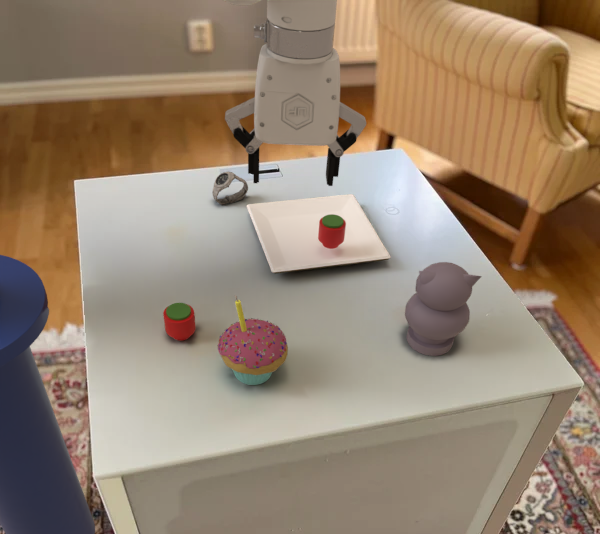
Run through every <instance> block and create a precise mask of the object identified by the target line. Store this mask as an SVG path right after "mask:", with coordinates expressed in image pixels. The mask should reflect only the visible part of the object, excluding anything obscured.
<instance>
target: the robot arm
mask: <svg viewBox="0 0 600 534" xmlns="http://www.w3.org/2000/svg"><path fill="white" fill-rule="evenodd" d="M261 1H262V0H222V2H225V3H228V4H229V5H233V6H238V7H249V6H253V5H255V4H258V3H259V2H261ZM337 5H338V0H266V19H264V20H263V21H264V22H260V23H254V24H253V38H257V39H260V40H263V43H264V44H263V45H262V46H261V48H260V51H259V55H258V60H257V64H256V65H257V67H256V74H255V75H256V76H255V85H254V86H255V87H254V88H255V89H254V97H252V98H250V99H248V100H245V101H244V102H242V103H240V104H238V105H237V104H236V106H233V107H231V108H229V109H227V110H226V111H225V112H224V121H225V123H226V124H227V126H228V128H229V130H230V131H231V133H232V134H233V138H234V139H235V140H236V141H237V142H238V143H239V144H240V145H241V146H242V147H243V148H244V149H245V152H246V154H247V174H250V175H253V184H258V183H260V147H261V145H263V144H269V145H286V146H311V147H312V146H313V147H315V146H316V147H322V146H323V147H324V146H327V147H328V148H327V155H326V157H327V158H326V166H325V167H326V168H325V180H326V185H328V187H333V185H334V178H339V172H340V165H341V164H340V163H341V157H343V156H344V153H345V152H346V151H347V150H348V149H349V148H351V147H352V146H353V145H355V144H356V142H357V140H358V138H359V136H360V135H361V134H362V132H363V131H364V130H365V127H366V126H367V120H366V117H365V116H364V115H363V114H361V113H360V112H358V111H356V110H355V109H353V108H351V107H349V106H348V105H346V104H345V103H343V102H341V63H340V55H339V53H338V51H337V50H336V49H335V48H334V40H335V28H336V17H337ZM251 115H253V127H254V128H253V129H252V130H251V131H250V132H249V131H248V130H247V129H246V128H245V127H244V126H243V124H241V120H243V119H244V118H246V117H249V116H251ZM340 119H342V120H343V121H345V122H347V123H349V125H350V127H349V129H346V131H345V132H343V133H342V134H341V135H340V136H339V135H338V131H339V123H340V122H339V121H340Z"/></svg>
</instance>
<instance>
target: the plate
mask: <svg viewBox="0 0 600 534" xmlns="http://www.w3.org/2000/svg"><path fill="white" fill-rule="evenodd" d="M246 209H247V211H248V213H249V214H248V215H249V216H250V218H251V222H252V224H253V227H254V229H255V232H256V235H257V237H258V240H259V242H260V245H261V248H262V250H263V252H264V255H265V258H266V260H267V263H268V265H269V269H270V271H271V273H273V274H283V273H291V272H299V271H307V270H316V269H324V268H333V267H340V266H341V267H342V266H349V265H357V264H364V263H374V262H381V261H388V260H390V259H391V258H392V256H391V255H390V252H389V251H388V250H387V248H386V246H385V244H384V243H383V241H382V240H381V238H380V236H379V235H378V233H377V231H376V229H375V228H374V226H373V225H372V223H371V221H370V220H369V217H368V216H367V214H366V213H365V211H364V210H363V207H362V206H361V205H360V203H359V201H358V199H357V198H356V196H355V195H354V194H352V193H349V194H338V195H337V194H336V195H328V196H319V197H308V198H307V197H306V198H297V199H288V200H287V199H286V200H278V201H268V202H257V203H249V204H247V205H246ZM331 214H333V215H338V216H340V217H342V218H343V219H344V220H345V222H346V228H345V237H344V241H343V243H342V244H340V245H339V246H338V247H337V248H334V249H329V248H326V247H324V246H323V244H322V243H321V242H320V241H319V239H318V233H319V221H320V219H321V218H323V217H324V216H326V215H331Z"/></svg>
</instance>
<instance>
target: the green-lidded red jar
mask: <svg viewBox="0 0 600 534" xmlns="http://www.w3.org/2000/svg"><path fill="white" fill-rule="evenodd" d="M162 315H163V316H162V317H163V322H164V329H165V333H166V334H167V336H169V337H170V338H172V339H174V340H176V341H186V340H188V339H189V338H190V337H191V336H193V335H194V334H195V332H196V329H197V328H196V316H195V315H196V314H195V310H194V308H193V307H192V306H191V305H190V304H187V303H185V302H174V303H171V304H169V305H168V306H167V307H165V308H164V310H163V312H162Z"/></svg>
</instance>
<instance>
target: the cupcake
mask: <svg viewBox="0 0 600 534" xmlns="http://www.w3.org/2000/svg"><path fill="white" fill-rule="evenodd" d="M234 298H235V301H234V303H235V308H236V312H237V316H238V317H237V318H238V321H235V322H233V323H232V324H230V326H228V327H226V328H224V331H223V332H222V334H221V335H219V338H218V343H217V351H218V354H219V355H220V357H221V359H222V361H223V363H224V364H225V366H226V367H227V368H229V369H231V371H232V372H233V374H234V376H235V378H236V379H237V380H238V381H239V382H240V383H242V384H244V385H249V386H258V385H261V384H264V383H266V382H267V381H268V380H269V379H270V378H271V376H272V374H273V372H275V371H277V370H278V369H279V368H280V367H281V366H282V365H283V364H284V363H285V362H286V360H287V357H288V352H289V347H288V343H287V337H286V335H285V333H284V332H283V330H282V329H281V328H280V327H279V326H278V325H275V323H273V322H270V321H269V320H264V319H259V318H252V317H250V318H245V316H244V311H243V305H242V301H241V300H240V299H238V296H237V295H234Z"/></svg>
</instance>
